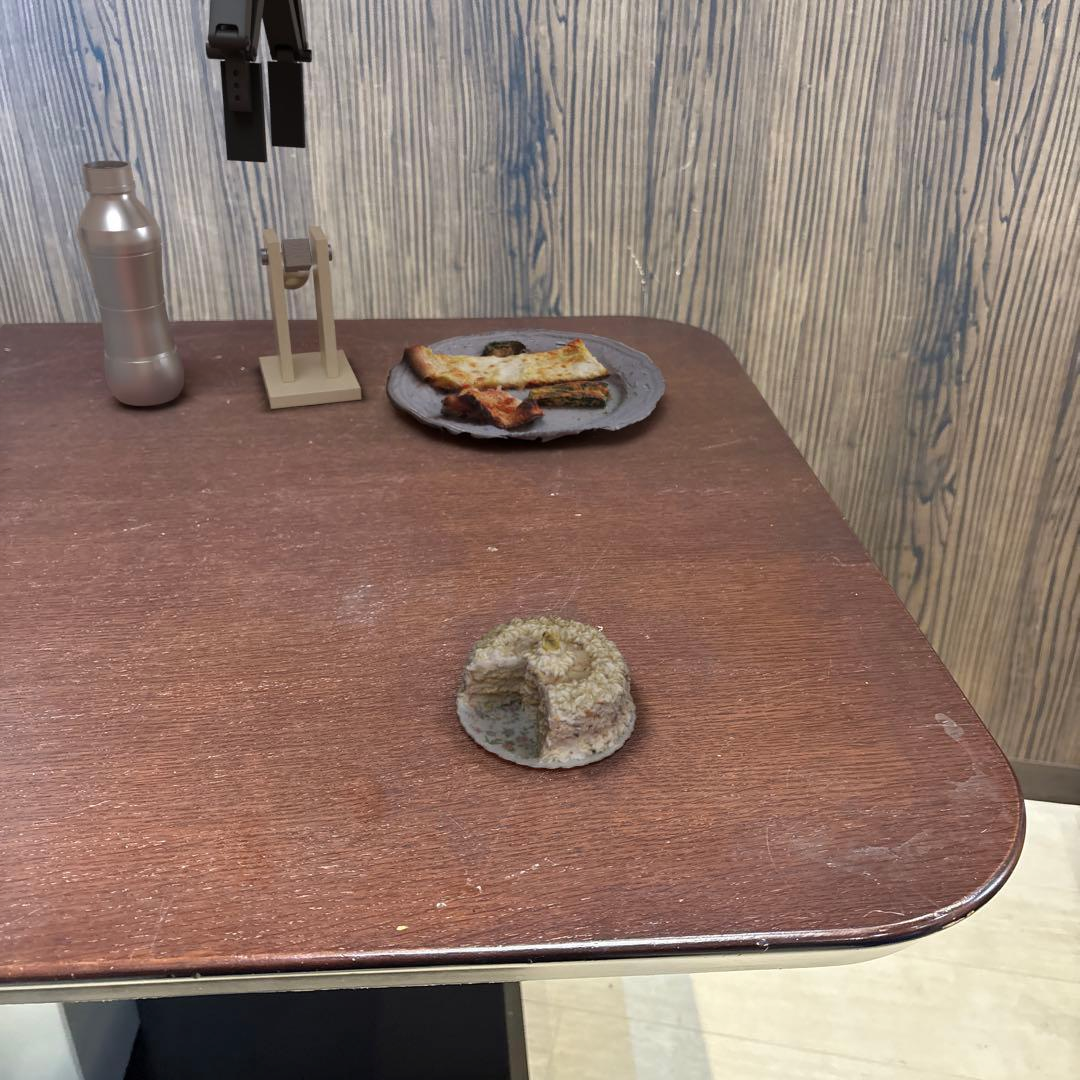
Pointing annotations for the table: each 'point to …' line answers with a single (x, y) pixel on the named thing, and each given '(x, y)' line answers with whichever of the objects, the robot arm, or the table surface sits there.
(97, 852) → the table surface
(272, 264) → the bracket
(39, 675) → the table surface
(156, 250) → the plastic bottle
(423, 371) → the food plate
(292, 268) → the lever
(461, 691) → the cake
